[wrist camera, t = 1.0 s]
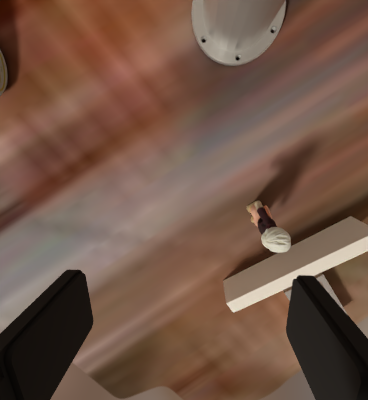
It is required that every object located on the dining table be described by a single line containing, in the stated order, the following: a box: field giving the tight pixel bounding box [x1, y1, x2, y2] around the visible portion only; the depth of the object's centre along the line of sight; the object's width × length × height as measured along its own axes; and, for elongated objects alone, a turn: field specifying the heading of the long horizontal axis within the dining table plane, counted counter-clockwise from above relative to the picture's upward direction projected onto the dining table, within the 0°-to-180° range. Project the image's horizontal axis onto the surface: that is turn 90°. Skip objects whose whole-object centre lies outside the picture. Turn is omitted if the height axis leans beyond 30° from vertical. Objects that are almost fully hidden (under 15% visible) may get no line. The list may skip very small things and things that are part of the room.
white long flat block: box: [223, 216, 368, 313], centre depth 36 cm, size 26×2×6 cm, turn 125°
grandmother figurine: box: [247, 201, 291, 253], centre depth 31 cm, size 8×4×13 cm, turn 32°
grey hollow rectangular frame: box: [283, 273, 347, 314], centre depth 40 cm, size 8×12×2 cm, turn 35°
